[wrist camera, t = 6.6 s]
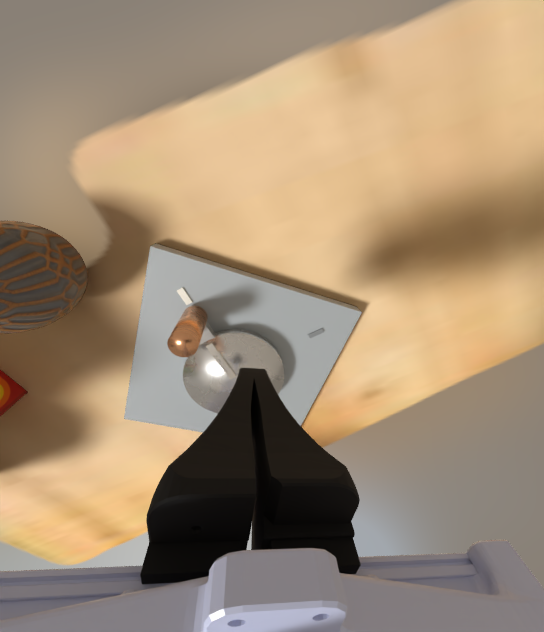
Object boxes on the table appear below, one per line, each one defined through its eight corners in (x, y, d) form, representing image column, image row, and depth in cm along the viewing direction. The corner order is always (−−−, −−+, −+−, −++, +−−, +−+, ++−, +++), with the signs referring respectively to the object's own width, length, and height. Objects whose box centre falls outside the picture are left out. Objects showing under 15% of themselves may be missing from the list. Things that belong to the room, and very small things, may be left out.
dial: (297, 384, 25) (307, 421, 21) (218, 419, 26) (213, 460, 22) (237, 281, 20) (234, 303, 16) (142, 329, 21) (117, 361, 17)
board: (287, 438, 30) (289, 448, 29) (129, 409, 27) (123, 419, 26) (356, 306, 24) (362, 312, 22) (155, 243, 20) (149, 246, 19)
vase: (61, 200, 18) (-85, 206, 10) (120, 286, 21) (43, 341, 13) (-19, 238, 19) (-215, 270, 11) (50, 316, 22) (-65, 385, 14)
